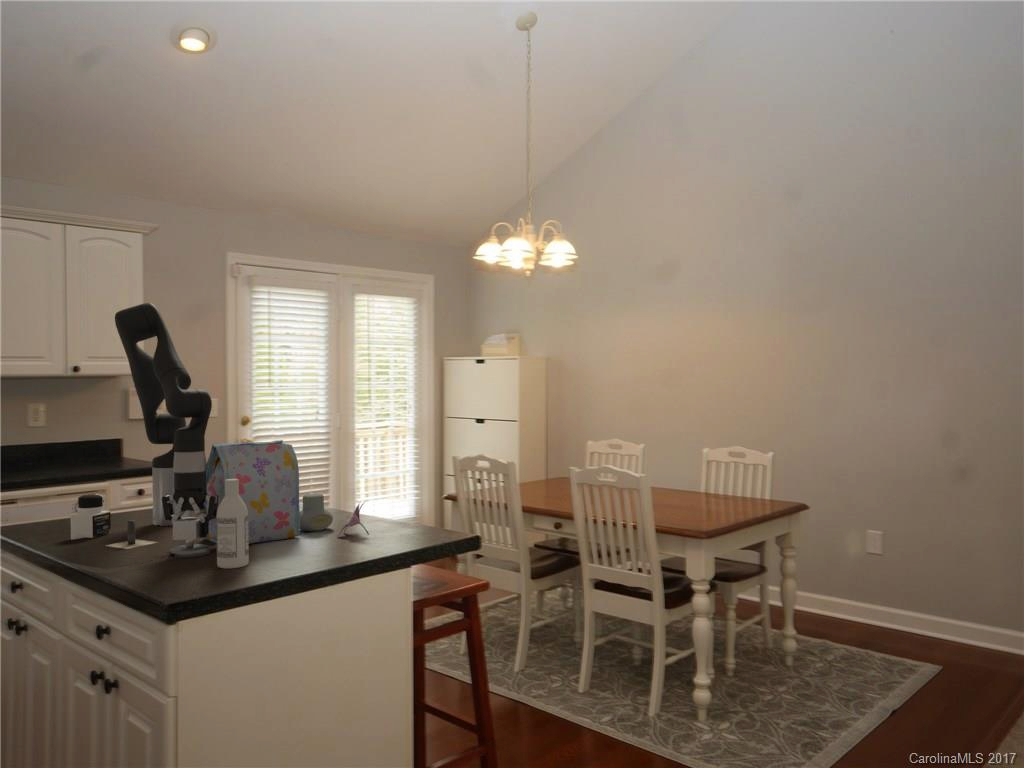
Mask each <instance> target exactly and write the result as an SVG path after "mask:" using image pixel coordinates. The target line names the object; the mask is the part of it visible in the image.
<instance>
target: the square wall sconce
mask: <svg viewBox="0 0 1024 768" xmlns="http://www.w3.org/2000/svg"><path fill="white" fill-rule="evenodd" d="M200 523H201V521H200V519H199V517H198V516H197V517H196V516H192V517H191V516H189V517H184V518H181V519H178V520H175V521H173V525H172V540H174V541H175V540H176V541H177V540H178V541H179V540H180V541H186V540H194V541H197V540H200V539H202V538H201V537H200Z"/></svg>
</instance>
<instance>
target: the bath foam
mask: <svg viewBox="0 0 1024 768" xmlns="http://www.w3.org/2000/svg"><path fill="white" fill-rule="evenodd" d="M225 494H226V495H225V497H224V499H223V500H222V502H221V503H220V505H219V507H218V510H217V517H216V525H217V543H216V564H217V565H216V566H217V567H218V568H221V569H231V570H232V569H238V568H239V569H240V568H244V567H246V566H248V564H249V562H250V560H249V559H250V558H249V556H250V555H249V551H250V550H249V548H250V546H249V540H248V511H247V507H246V505H245V503H244V502H243V500H242V499H241V497H240V496H239V480H238V479H227V480H225Z"/></svg>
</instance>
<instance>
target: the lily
mask: <svg viewBox="0 0 1024 768" xmlns="http://www.w3.org/2000/svg"><path fill="white" fill-rule="evenodd" d="M360 504H361V502H359V503H358V504H357V506H355V509H354V511H353V514H352V515H351V514H348V515H347V516H346V517H347V518H348V519H349V522H348V523H346V524H345V525H343V527H342V529H341V530H340V531H339V533H338V535H337V537H336V538H339V535H340V534H341V533H342V532H343V533H345V532H346V531H347V529H348V528H350V527H353V526H356V525H360V526H361V527H362V528H363V530H365V532H366V534H367V535H368V536H369V535H370V533H369V531H368V530H367V528H366V527H365V526H364V525H363V523H361V519H360V512H361V509H362V507H363V506H364V504H365V502H363V503H362V504H361V505H360Z"/></svg>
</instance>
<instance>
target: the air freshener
mask: <svg viewBox="0 0 1024 768" xmlns="http://www.w3.org/2000/svg"><path fill="white" fill-rule="evenodd" d="M324 497H325V496H324V495H323V494H322V493H309V494H308V493H307V494H304V495H303V496H302V510H300V531H304V532H309V533H310V532H311V533H317V532H322V531H324V530H326V529H328V528H329V527H330V526H331V525H332V523H333V521H334V516H333V514H332V513H331V512H330V511H329V510H328V509H325V501H324V499H325V498H324Z"/></svg>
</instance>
